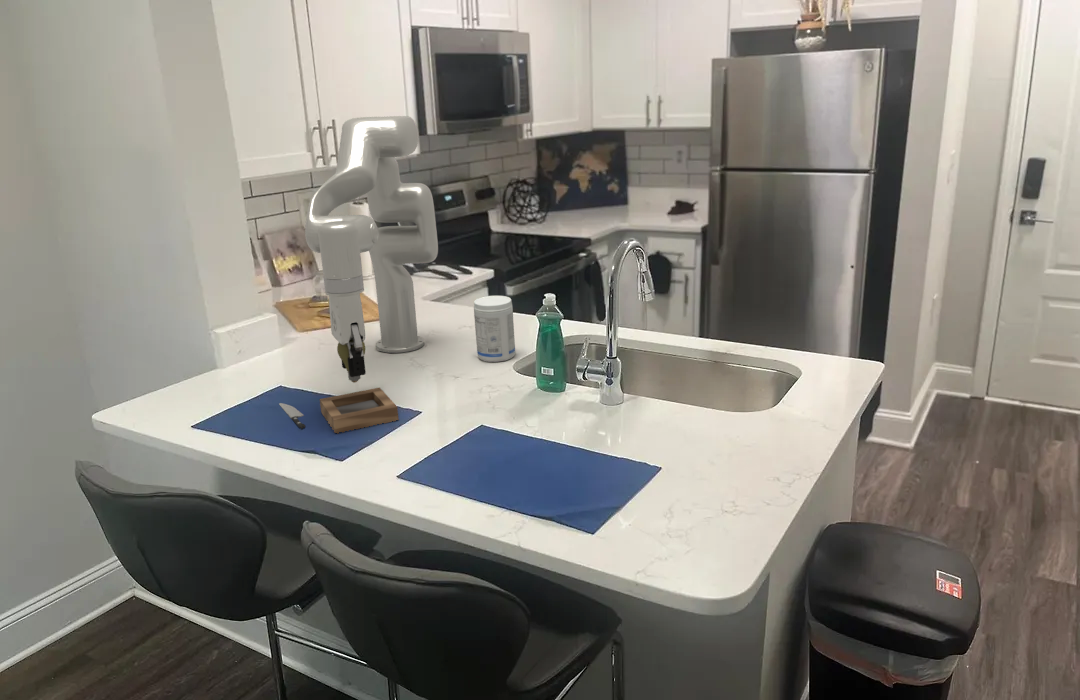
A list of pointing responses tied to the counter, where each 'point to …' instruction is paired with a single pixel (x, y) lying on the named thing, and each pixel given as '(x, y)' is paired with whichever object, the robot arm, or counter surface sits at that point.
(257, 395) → the counter surface
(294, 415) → the chef's knife
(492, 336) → the supplement tub
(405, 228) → the robot arm
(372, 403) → the cradle
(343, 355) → the light bulb
